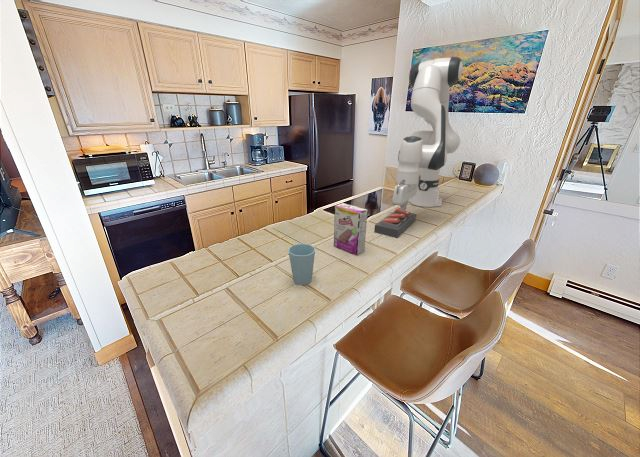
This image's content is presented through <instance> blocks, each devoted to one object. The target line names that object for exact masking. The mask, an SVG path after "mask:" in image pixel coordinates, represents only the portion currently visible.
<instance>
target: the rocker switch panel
mask: <svg viewBox="0 0 640 457" xmlns="http://www.w3.org/2000/svg"><path fill="white" fill-rule="evenodd" d="M391 214H401V213H398V212H396V211H395V210H393V211H392V212H391V213H390V214H389V215H387V216H386V217H385V216H384V218H383V219H380V221H378V222H377V223H375V224H374V231H373V232H374V234H379V235H383V236H388V237H391V238H394V239H397V238H399V237H400V236H401V235H402V234H404V233H405V231H407V229H408V228H409V227H411V226H412V225H413V224H414V223H415V222H416V219H417V213H412V212H410V214H409V215H405V217H403V218H399V221H398V222H397V223H386V222H383V220H384V219H386V218H391V217H389V216H390V215H391Z"/></svg>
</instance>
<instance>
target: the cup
mask: <svg viewBox="0 0 640 457" xmlns="http://www.w3.org/2000/svg"><path fill="white" fill-rule="evenodd" d="M287 250H288V251H287V252H288V258H289V262H290V268H291V273H292V275H291V276H292V279H293V283H294V284H295V285H297V286H306V285H309V284H310V283H311V282H312V280H313V273H314V272H313V271H314V262H315V254H316V248H315V246H314V245H311V244H309V243H296V244H293V245H291V246H289V247H288V249H287Z"/></svg>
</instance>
